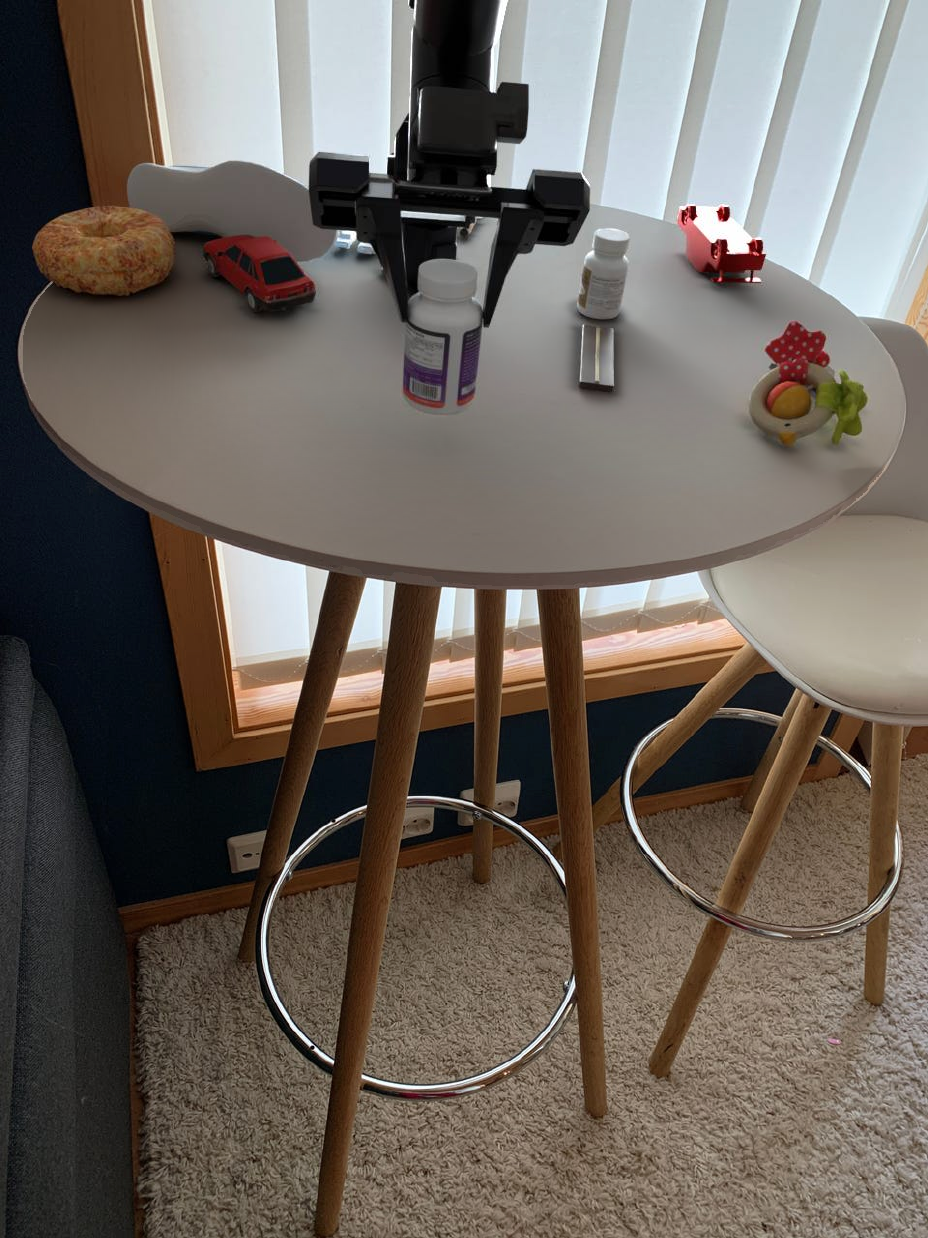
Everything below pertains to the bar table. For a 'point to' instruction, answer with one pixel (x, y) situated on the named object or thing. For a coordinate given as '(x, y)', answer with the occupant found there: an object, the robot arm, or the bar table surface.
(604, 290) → the pill bottle
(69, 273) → the bagel
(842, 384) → the bird rattle
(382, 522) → the bar table surface
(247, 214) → the shoe
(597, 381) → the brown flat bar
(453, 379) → the pill bottle
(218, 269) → the toy car
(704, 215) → the toy car
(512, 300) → the bar table surface
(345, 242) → the toy vehicle set
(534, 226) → the robot arm
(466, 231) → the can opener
